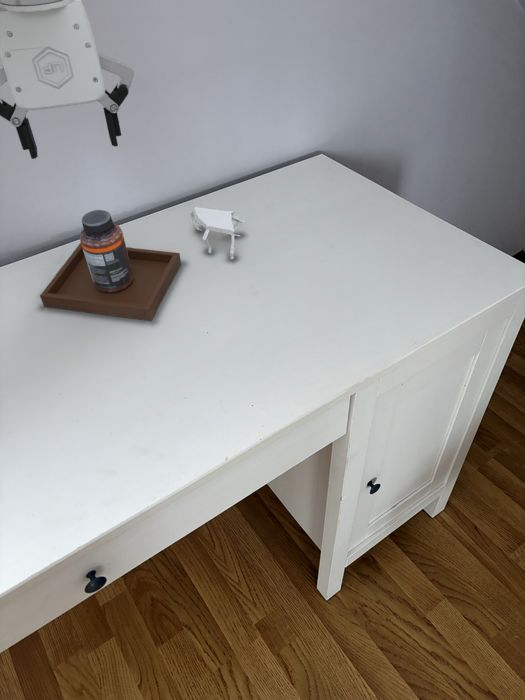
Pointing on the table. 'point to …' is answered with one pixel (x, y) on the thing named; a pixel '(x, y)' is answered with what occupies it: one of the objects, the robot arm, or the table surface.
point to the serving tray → (132, 302)
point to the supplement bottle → (105, 252)
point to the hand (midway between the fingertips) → (74, 147)
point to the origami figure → (216, 223)
